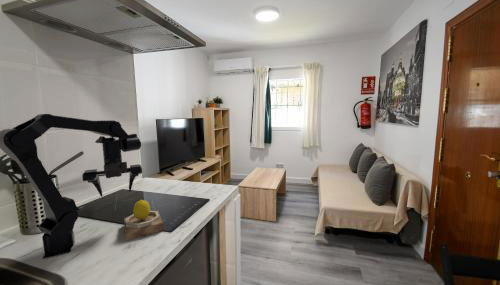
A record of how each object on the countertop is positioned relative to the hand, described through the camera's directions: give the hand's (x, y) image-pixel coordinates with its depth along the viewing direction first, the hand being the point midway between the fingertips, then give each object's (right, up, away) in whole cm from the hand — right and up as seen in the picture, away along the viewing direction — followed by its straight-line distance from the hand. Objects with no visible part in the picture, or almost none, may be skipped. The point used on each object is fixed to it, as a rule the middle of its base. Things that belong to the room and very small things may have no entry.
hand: (116, 193), depth 83 cm
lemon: (+12, -9, -3) cm, 15 cm away
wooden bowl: (+12, -12, -2) cm, 17 cm away
